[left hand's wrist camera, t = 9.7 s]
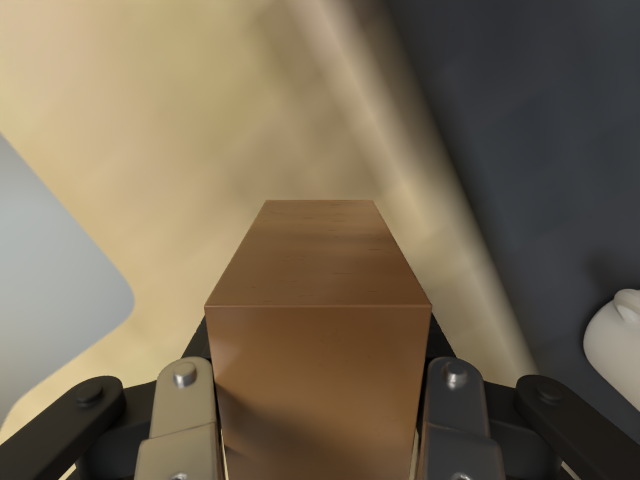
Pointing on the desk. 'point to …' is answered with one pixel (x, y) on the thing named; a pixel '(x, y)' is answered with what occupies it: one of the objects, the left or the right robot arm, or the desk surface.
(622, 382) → the mug
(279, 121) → the desk surface
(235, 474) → the bar
